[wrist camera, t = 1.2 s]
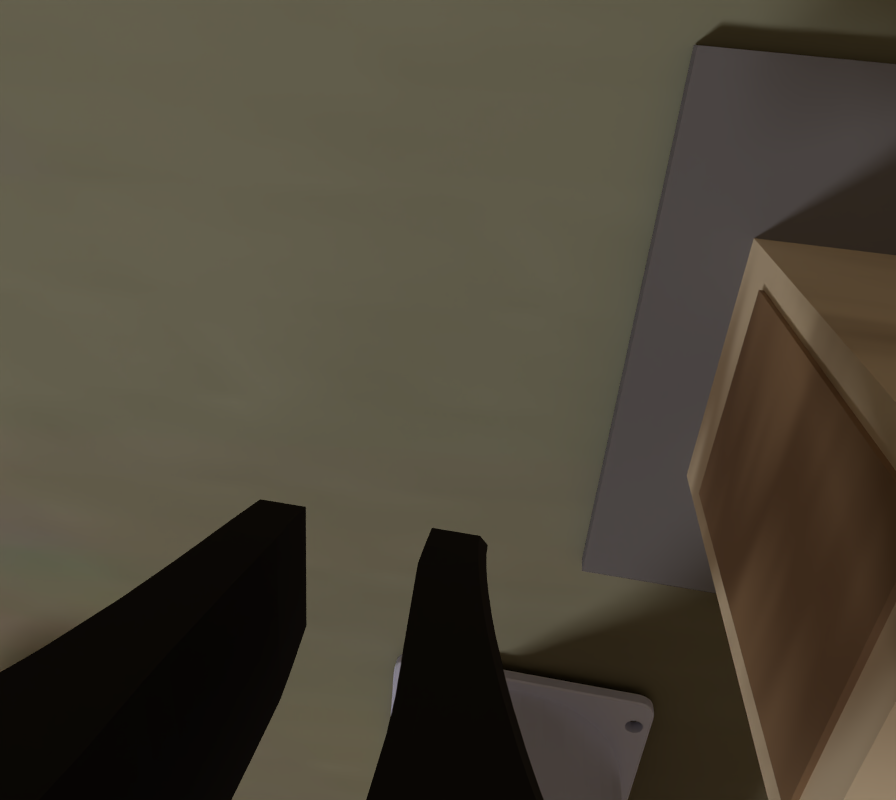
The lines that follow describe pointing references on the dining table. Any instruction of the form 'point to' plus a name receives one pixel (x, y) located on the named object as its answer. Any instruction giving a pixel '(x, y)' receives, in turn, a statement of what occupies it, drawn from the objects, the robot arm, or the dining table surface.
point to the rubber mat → (730, 269)
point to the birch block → (808, 515)
